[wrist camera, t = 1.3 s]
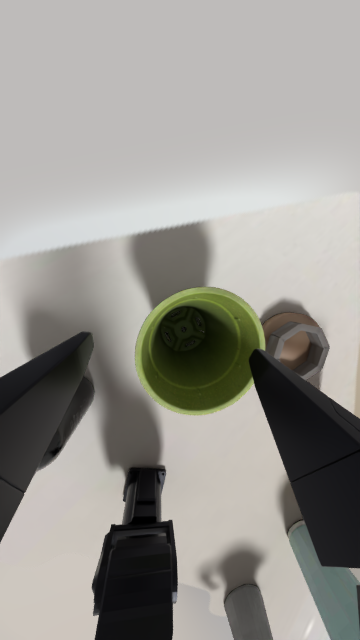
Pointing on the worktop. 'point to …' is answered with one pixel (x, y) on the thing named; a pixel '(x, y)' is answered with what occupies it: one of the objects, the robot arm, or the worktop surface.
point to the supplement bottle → (69, 422)
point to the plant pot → (198, 350)
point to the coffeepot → (247, 614)
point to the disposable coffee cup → (328, 587)
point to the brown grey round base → (296, 343)
